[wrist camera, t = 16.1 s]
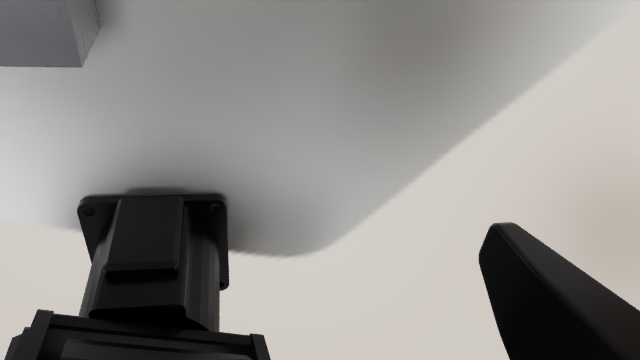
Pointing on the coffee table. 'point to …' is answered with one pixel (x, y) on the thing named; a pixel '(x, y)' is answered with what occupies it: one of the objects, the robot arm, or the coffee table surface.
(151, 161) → the coffee table surface
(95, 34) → the socket block
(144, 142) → the coffee table surface
